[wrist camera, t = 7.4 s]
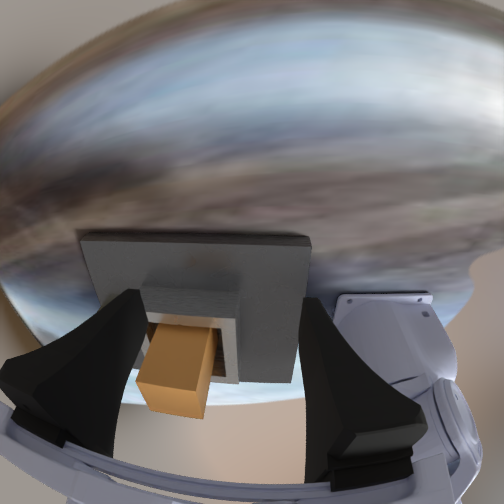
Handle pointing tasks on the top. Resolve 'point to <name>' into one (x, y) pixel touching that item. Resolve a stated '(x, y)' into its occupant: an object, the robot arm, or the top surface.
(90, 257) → the grey socket base
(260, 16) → the top surface
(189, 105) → the top surface
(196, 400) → the wedge pin
